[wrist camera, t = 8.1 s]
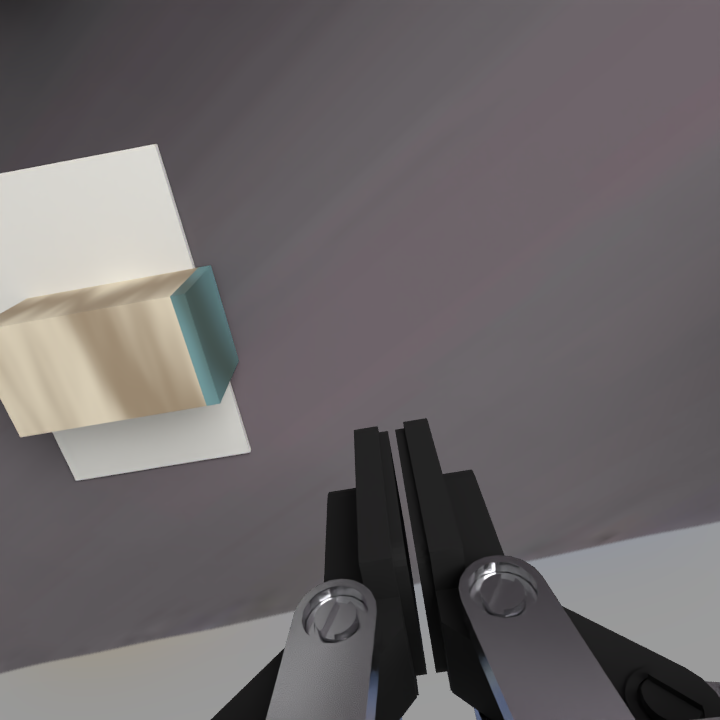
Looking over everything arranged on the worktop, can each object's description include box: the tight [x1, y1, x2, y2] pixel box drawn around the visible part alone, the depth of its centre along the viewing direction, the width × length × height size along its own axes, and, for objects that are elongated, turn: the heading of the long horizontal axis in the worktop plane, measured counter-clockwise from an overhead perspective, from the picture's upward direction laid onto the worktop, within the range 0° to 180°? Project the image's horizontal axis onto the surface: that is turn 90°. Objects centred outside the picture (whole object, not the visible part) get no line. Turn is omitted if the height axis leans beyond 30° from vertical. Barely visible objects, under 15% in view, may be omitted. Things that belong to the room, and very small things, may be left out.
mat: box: [0, 144, 251, 481], centre depth 26 cm, size 10×16×1 cm, turn 10°
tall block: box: [0, 265, 239, 437], centre depth 24 cm, size 4×5×9 cm
